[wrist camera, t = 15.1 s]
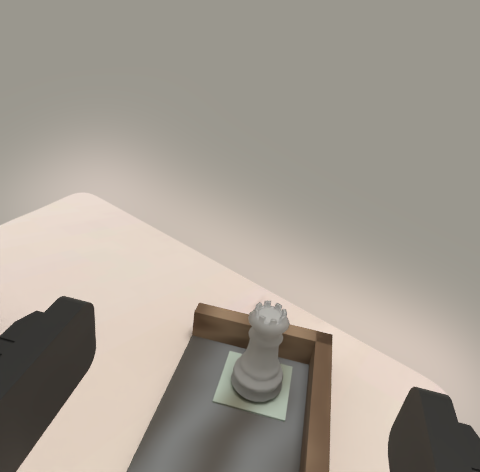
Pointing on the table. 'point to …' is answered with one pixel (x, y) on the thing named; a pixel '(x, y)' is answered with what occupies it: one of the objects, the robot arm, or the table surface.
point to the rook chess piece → (261, 355)
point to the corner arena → (241, 405)
